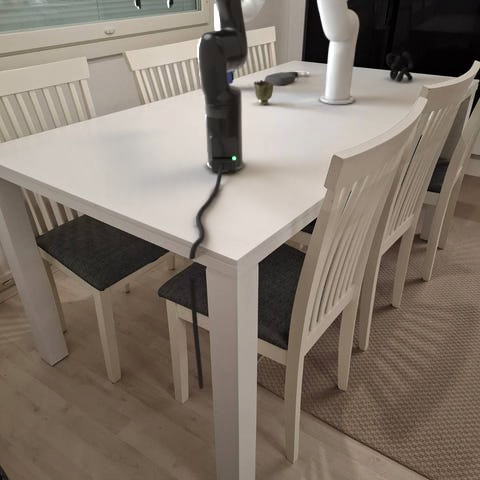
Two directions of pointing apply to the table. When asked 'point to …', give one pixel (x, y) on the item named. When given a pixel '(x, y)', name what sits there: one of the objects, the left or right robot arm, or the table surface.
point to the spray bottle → (284, 77)
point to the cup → (263, 91)
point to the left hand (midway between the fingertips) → (154, 8)
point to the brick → (229, 77)
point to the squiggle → (399, 66)
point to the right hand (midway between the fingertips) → (225, 82)
